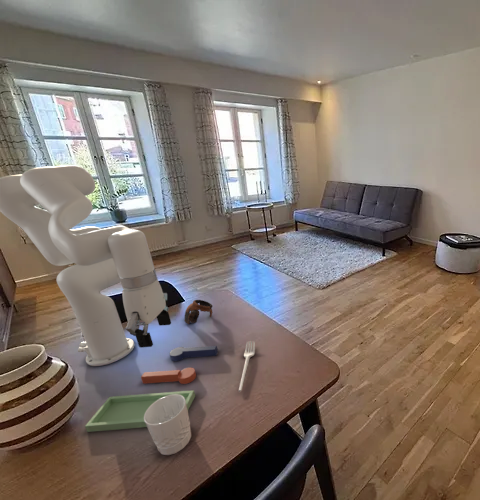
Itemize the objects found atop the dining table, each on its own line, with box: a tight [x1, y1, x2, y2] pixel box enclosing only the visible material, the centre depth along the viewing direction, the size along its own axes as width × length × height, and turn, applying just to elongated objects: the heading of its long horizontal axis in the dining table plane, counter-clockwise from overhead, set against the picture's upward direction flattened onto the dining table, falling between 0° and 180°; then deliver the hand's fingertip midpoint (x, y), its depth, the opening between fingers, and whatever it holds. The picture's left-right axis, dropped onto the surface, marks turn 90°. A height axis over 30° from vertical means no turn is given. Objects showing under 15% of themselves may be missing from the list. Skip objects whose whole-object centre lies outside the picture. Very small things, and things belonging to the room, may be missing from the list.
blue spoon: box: [169, 345, 219, 362], centre depth 94 cm, size 14×4×2 cm, turn 95°
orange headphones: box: [183, 299, 213, 325], centre depth 113 cm, size 12×10×8 cm
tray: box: [84, 390, 196, 433], centre depth 74 cm, size 22×9×2 cm, turn 95°
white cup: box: [144, 394, 192, 456], centre depth 66 cm, size 8×8×10 cm
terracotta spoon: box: [140, 367, 197, 385], centre depth 85 cm, size 14×4×2 cm, turn 95°
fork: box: [238, 340, 256, 393], centre depth 89 cm, size 3×20×2 cm, turn 9°
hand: (156, 334), depth 81 cm, fingers open, 9 cm apart
